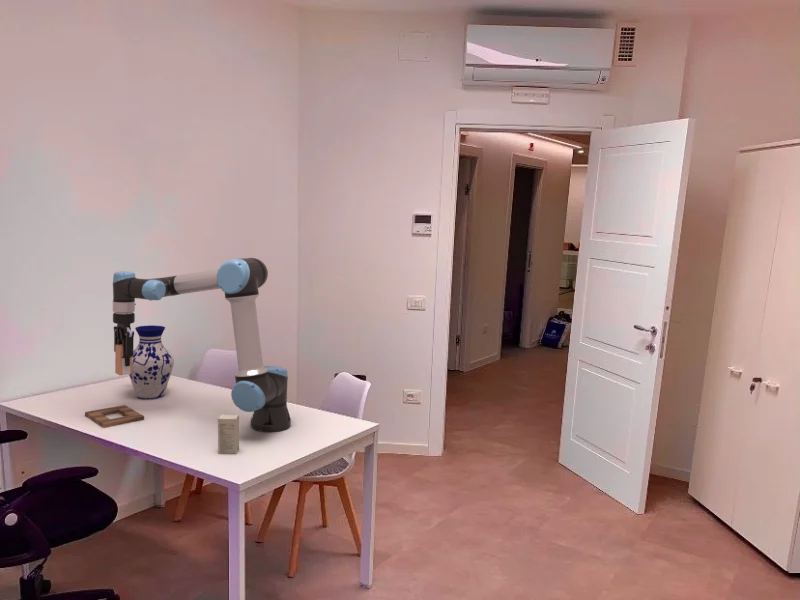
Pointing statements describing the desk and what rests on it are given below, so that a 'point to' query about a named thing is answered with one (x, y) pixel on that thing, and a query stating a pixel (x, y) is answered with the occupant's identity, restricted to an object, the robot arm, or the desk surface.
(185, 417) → the desk surface
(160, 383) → the vase
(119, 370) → the peg
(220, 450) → the skincare box
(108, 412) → the socket frame
